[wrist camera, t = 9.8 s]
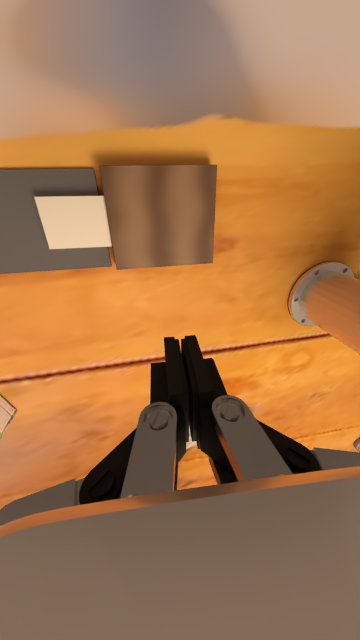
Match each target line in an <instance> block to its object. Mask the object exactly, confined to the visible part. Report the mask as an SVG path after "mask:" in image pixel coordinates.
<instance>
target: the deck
mask: <svg viewBox="0 0 360 640" xmlns="http://www.w3.org/2000/svg"><path fill="white" fill-rule="evenodd" d="M99 168H100V174H101V180H102V186H103V192H104V198H105V204H106V210H107V215H108V221H109V227H110V233H111V239H112V245H113V251H114V256H115V262H116V268H117V270H119V269H133V268H148V267H162V266H177V265H192V264H206V263H213V243H214V221H215V198H216V176H217V165H125V166H99Z"/></svg>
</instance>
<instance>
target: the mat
mask: <svg viewBox="0 0 360 640" xmlns="http://www.w3.org/2000/svg"><path fill="white" fill-rule="evenodd" d="M51 196H99V193H98V188H97V182H96V177H95V171H94V169H0V274H5V273H20V272H35V271H50V270H65V269H80V268H95V267H110V266H112V265H111V260H110V254H109V249H108V247H89V248H67V249H49V245H48V242H47V239H46V235H45V232H44V228H43V225H42V222H41V218H40V215H39V212H38V208H37V205H36V201H35V198H34V197H51Z"/></svg>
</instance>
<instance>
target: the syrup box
mask: <svg viewBox="0 0 360 640" xmlns="http://www.w3.org/2000/svg"><path fill="white" fill-rule="evenodd" d="M16 412H17V410H16V409H15V408H14V407H13V406H12V405H11V404H10V403H9V402H8V401H7V400H6V399H4V398H3V397H2V396H1V395H0V439H1V437H2V436H3V434H4V432H5V431H6V429H7V427H8V426H9V424H10V422H11V421H12V419H13V417H14V416H15V414H16Z"/></svg>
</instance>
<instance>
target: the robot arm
mask: <svg viewBox="0 0 360 640" xmlns="http://www.w3.org/2000/svg"><path fill="white" fill-rule="evenodd" d="M288 308H289V312H290V315H291V316H292V318H293V319H294V320H295V321H297V322H298V323H300V324H301V325H305V326H319V327H320V328H322V329H323V330H325V331H326V332H328V333H329V334H331V335H332V336H334V337H335V338H336V339H338V340H339V341H341V342H342V343H344V344H345V345H347V346H348V347H350V348H351V349H353V350H354V351H356V352H357V353H359V354H360V280H359V279H356V278H355V277H354V274H353V272H352V270H351V269H350V268H349V267H348V266H346V265H345V264H342V263H339V262H325V263H321V264H319V265H316V266H314V267H313V268H311V269H310V270H308V271H307V272H306V273H305V274H303V275H302V276H301V277H300V279H299V280H298V281H297V282H296V284H295V285H294V287H293V289H292V291H291V293H290V297H289V302H288ZM164 345H165V362H160V363H151V400H150V404H149V405H148V406H146V407H145V408H144V409H143V411H142V412H141V414H140V417H139V421H138V425H137V428H136V429H135V430H134V431H133V432H132V433H131V434H130V435H128V436H127V437H126V438H125V439H124V440H123V441H122V442H121V443H120V444H119V445H118V446H117V447H116V448H115V449H114V450H113V451H111V452H110V453H109V454H108V455H107V456H106V457H105V458H104V459H103V460H102V461H101V462H100V463H99V464H98V465H97V466H96V467H94V468H93V469H92V470H91V471H90V473H89V474H88V475H87V476H86V477H85V478H83V479H80V480H78V481H77V480H76V478H75V479H72V480H69V481H66V482H64V483H61V484H58V485H56V486H53V487H50V488H47V489H45V490H42V491H39V492H36V493H34V494H31V495H28V496H26V497H23V498H20V499H17V500H15V501H13V502H11V503H9V504H7V505H5V506H4V507H3V508H2V509H1V510H0V640H360V453H359V452H350V451H341V450H332V449H323V448H313V450H309V449H307V448H306V447H305V446H303V445H302V444H300V443H298V442H296V441H294V440H293V439H291V438H289V437H287V436H285V435H283V434H282V433H280V432H278V431H276V430H274V429H273V428H271V427H269V426H267V425H265V424H263V423H262V422H260V421H258V420H256V418H255V417H254V415H253V414H252V412H251V411H250V409H249V408H248V406H247V405H246V404H245V403H244V402H243V401H242V400H241V399H239V398H237V397H235V396H231V395H227V392H226V390H225V387H224V385H223V382H222V380H221V377H220V375H219V373H218V370H217V368H216V365H215V363H214V360H213V359H212V358H207V359H203V356H202V353H201V350H200V347H199V344H198V341H197V338H196V336H195V335H192V336H185V339H181V350H180V345H179V340H178V339H174V337H164ZM189 426H190V432H191V438H192V441H197V447H198V449H201V451H203V452H204V453H205V454H207V455H208V458H209V462H210V465H211V468H212V470H213V473H214V476H215V478H216V481H217V484H218V485H212V486H205V487H198V488H191V489H183V490H178V469H179V461H180V460H181V458H182V457H183V456H184V454H185V453H186V442H189Z"/></svg>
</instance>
